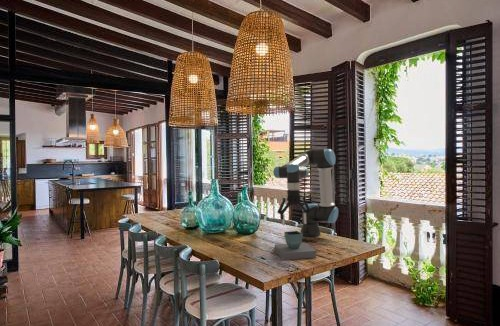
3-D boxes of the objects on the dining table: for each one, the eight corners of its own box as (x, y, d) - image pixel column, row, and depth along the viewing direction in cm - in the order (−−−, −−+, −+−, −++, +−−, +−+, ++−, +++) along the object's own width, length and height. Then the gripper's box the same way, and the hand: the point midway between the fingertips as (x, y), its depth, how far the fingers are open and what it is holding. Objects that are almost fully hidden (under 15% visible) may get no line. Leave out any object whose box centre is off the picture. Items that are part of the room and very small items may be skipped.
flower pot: (289, 249, 201) (289, 234, 201) (284, 246, 210) (283, 231, 209) (303, 248, 203) (302, 233, 203) (297, 245, 212) (297, 230, 212)
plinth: (304, 248, 218) (304, 242, 218) (316, 257, 198) (316, 250, 198) (274, 250, 215) (274, 244, 215) (283, 260, 195) (282, 253, 195)
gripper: (275, 191, 200) (275, 226, 201) (315, 189, 204) (316, 224, 205) (272, 189, 207) (272, 224, 208) (311, 187, 212) (311, 221, 212)
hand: (294, 224), depth 206 cm, fingers open, 13 cm apart
